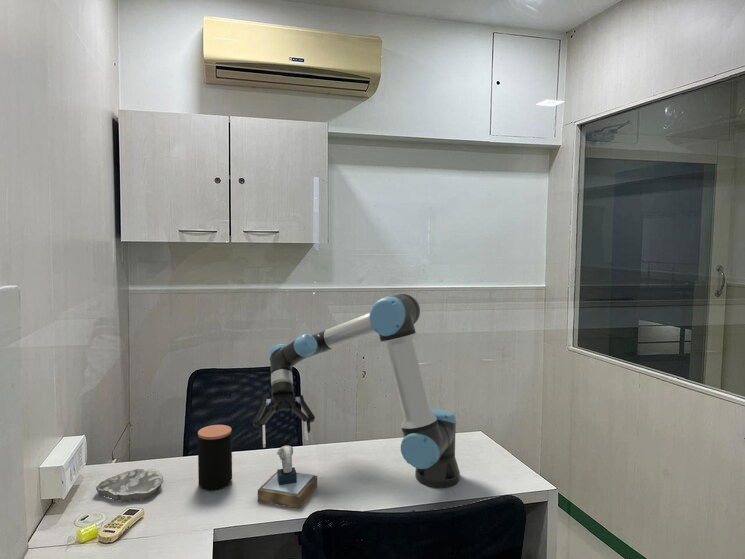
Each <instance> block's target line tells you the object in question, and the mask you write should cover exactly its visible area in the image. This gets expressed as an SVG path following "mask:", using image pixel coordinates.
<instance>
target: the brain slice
mask: <svg viewBox="0 0 745 559" xmlns="http://www.w3.org/2000/svg"><path fill="white" fill-rule="evenodd" d="M164 481H165V480H164V476H163V474H162V473H161V471H159V470H157V469H154V468H152V469H147V470H145V469H143V468H142V469H139V468H135V469H133V470H129V471H124V472H122V473H118V474H116V475H115V476H112V477H109V478H106V479H105V480H103V481H101V482H100V483H98V485H97V486H95V489H96V491H97V493H98V494H99V495H101V496H102V497H103V496H105V497H109V498H112V499H111V500H113V499H114V500H113V501H118V500H121V502H130V501H129V500H136V501H141V500H140V499H144V500H146V498H147V499H148V498H150V497H151V496H152V495H153V494H154V493H155V492H157V491H158V490H159V489H160V487H161V486H162V484H163V483H164ZM156 490H157V491H156ZM149 496H150V497H149ZM105 497H104V498H105ZM109 498H108V499H109Z"/></svg>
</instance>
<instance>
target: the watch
mask: <svg viewBox="0 0 745 559" xmlns="http://www.w3.org/2000/svg"><path fill="white" fill-rule="evenodd" d="M293 454H294V448H293V446H291V445H284V446H281V447H280V448H278V450H277V452H276V455H278V457H279V459H280V460H281V466H282V468H280V469H279V468H278V469H277V470H276V472H277V480H278V483H279V485H285V484H291V483H297V473H298V472H297V469H296V468H295V467H293V459H292V456H293Z"/></svg>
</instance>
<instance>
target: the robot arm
mask: <svg viewBox="0 0 745 559" xmlns="http://www.w3.org/2000/svg"><path fill="white" fill-rule="evenodd" d="M420 316H421V308H420V305H419V302H418V301H417V299H416V298H415V297H413V296H412V295H410V294H406V293H399V294H395V295H389V296H385V297H382V298H381V299H378V300H376V302H374V304H373V305H372V306H371V309H370V310H369V312H368V313H365V314H363V315H360V316H357V317H356V318H353V319H351V320H348V321H344V322H343V323H340V324H337V325H335V326H332V327H330V328H327V329H325V330H322V331H319V332H317V333H315V334H314V333H313V334H308V333H303V335H300V336H298V337H296V338H295V339H294V340H293V341H291V342H289V343H288V344H285V343H280V344H279V343H278V344H277V345H276V344H275V345H273V346H272V347H271V348H270V351H269V361H270V362H269V364H270V383H271V398H267V397H263V398H262V404H261V405H260V407H259V410H258V411H257V413H256V416H255V418H254V420H253V422H252V425H253V427H254V428H257V429H258V437H259V438H262V448H263V449H264V448H266V444H267V443H266V424H267V423H268V422H269V420H270V419H271V417H272V416H273V415H274V414H275V413H276V412H277V411H278V412H283V411H284V412H288V411H290V412H292V413H294V414H295V415H296V416H297V417H298V418H299V419H300V420H301V421H303V432H304V433H303V434H304V444H305V445H306V444H308V442H309V434H310V433H311V423H313V422H315V419H316V416H315V415H314V413H313V412H312V409H310V407H309V406H308V404H307V403H306V401H305V399H304V398H305V397H304V395H303V394H300V395H299V396H295V393H294V391H295V390H294V381H293V380H294V379H293V367H294V366H296V365H297V364H299V363H300V362H303V360H305V359H308V358H311V357H313V356H316V355H319V354H322V353H325V352H328V351H331V350H332V349H336V348H338V347H341V346H344V345H347V344H349V343H352V342H355V341H357V340H359V339H363V338H366V337H368V336H371V335H374V334H378V336H379V340H380V342H381V343H382V344H383V345H385V346H386V348H387V353H388V358H389V362H390V366H391V370H392V374H393V377H394V381H395V382H394V383H395V387H396V389H397V390H396V391H397V395H398V399H399V403H400V406H401V408H400V409H401V411H402V414H403V421H402V423H401V425H400V426H401V431H402V435H403V438H402V441H401V443H400V453H401V455H402V458H403V459H404V460H405V462H406V463H407V464H409V465H410V466H412V467H413V468H415V478H416V480H417V481H418V482H419V483H421V484H423V485H425V486H428V487H432V488H448V487H453V486H456V485H457V484H458V483H459V482H460V478H461V475H460V474H461V472H460V468H459V465H458V461H457V458H456V434H457V430H456V428H457V427H456V426H457V421H456V418H457V417H456V415H455V413H453V412H451V411H448V410H445V409H439V408H430V405H429V402H428V401H429V400H428V397H427V393H426V389H425V385H424V381H423V377H422V374H421V369H420V365H419V360H418V357H417V352H416V349H415V348H416V347H415V343H414V338H415V336H416V334H417V333H416V328H415V324H416V323H417V322H418V320H419V319H420ZM296 402H297V404H299V405H300V406H301V407H300V408H301V409H302V410H301V409H300V408H299V407H298V406H297V405H296V404H295V403H296ZM269 405H271V408H270V409H269V410H268V412H266V414H265V415H264V416H263V414H264V413H265V411H266V408H267V407H268V406H269ZM303 411H304V412H303ZM262 416H263V417H262Z"/></svg>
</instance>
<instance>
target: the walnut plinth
mask: <svg viewBox="0 0 745 559" xmlns="http://www.w3.org/2000/svg"><path fill="white" fill-rule="evenodd" d="M296 473H297V483H291V484H285V485H279V483H278V480H277V471H276V472H275V473H273V474H272V476H271V477H270V478H269V479H268V480H266V481H265V482H264V483H263V484H262V485H261V486H260V487H259V488H257V502H259V503H264V504H271V505H276V504H278V505H277V506H282V505H285V506H284V507H288V506H291V507H290V508H293V507H296V508H295V509H301V507H302V506H303V505H304V504H305V502H306V501H307V500H308V499H309V497H310V496H311V495H312V494H313V492H314V491H315V490H316V489H317V487H318V475H314V474H308V473H301V472H296ZM307 498H308V499H307ZM306 499H307V500H306ZM302 504H303V505H302Z"/></svg>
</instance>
